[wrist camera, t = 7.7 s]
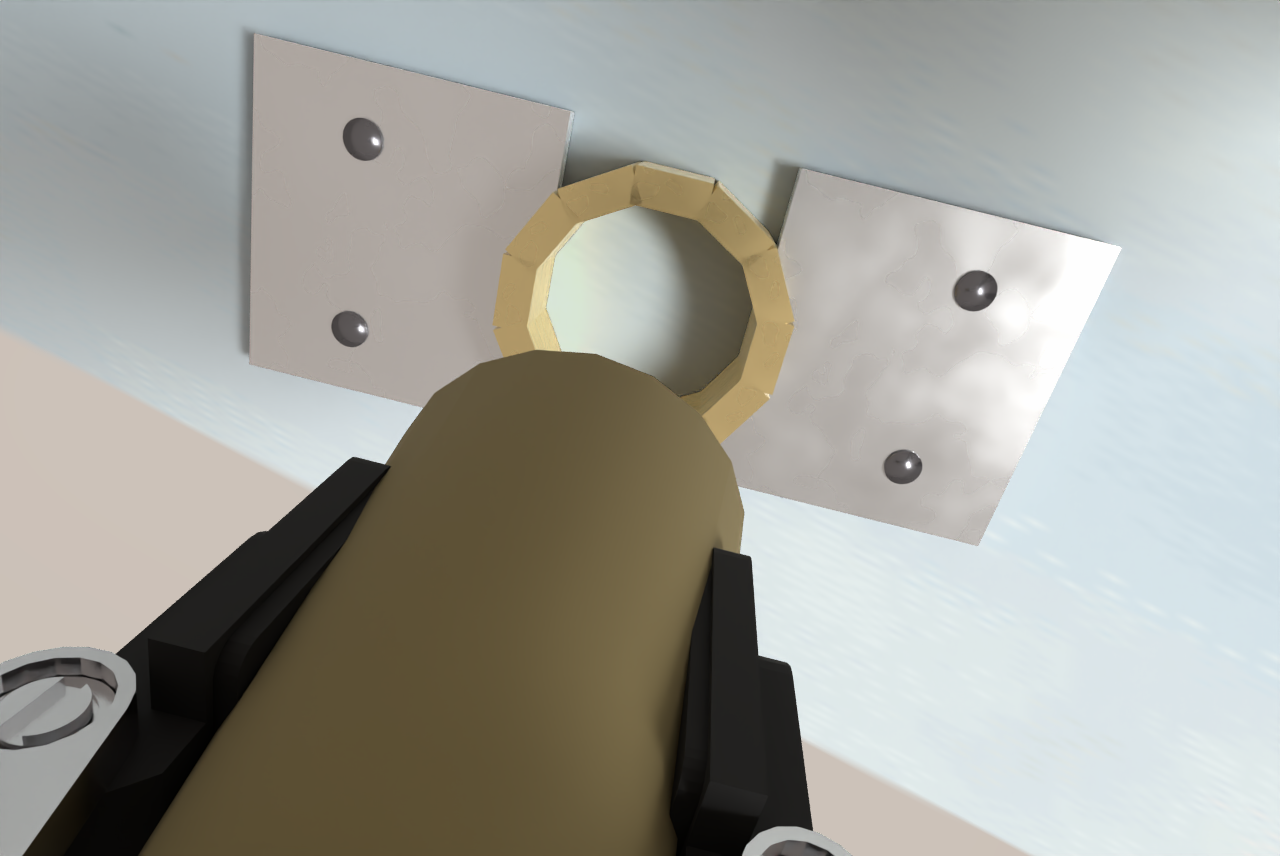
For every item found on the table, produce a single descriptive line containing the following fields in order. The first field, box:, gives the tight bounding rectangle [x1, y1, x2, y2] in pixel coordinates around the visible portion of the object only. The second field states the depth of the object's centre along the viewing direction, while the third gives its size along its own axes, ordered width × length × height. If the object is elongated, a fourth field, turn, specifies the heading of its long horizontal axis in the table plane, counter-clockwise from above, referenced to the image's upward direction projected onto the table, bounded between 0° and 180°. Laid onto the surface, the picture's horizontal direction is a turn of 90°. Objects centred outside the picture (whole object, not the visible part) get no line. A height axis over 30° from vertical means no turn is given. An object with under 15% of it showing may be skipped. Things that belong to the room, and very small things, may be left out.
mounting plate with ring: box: [249, 33, 1122, 546], centre depth 26 cm, size 12×30×3 cm, turn 77°
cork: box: [138, 350, 744, 856], centre depth 7 cm, size 6×6×11 cm
